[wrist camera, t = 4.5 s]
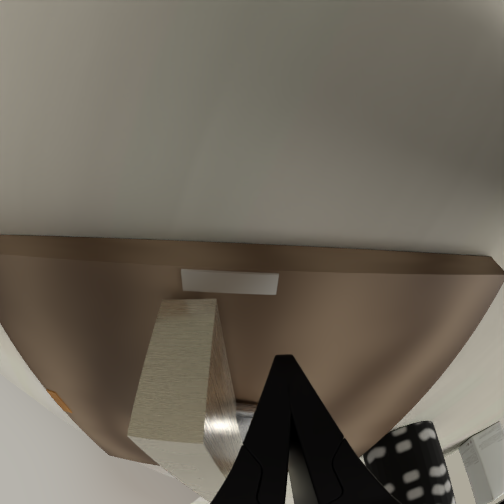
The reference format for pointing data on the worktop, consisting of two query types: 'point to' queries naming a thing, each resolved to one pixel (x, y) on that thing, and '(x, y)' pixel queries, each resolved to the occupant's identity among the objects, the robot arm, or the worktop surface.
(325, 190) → the worktop surface
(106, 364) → the dial plate
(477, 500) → the skincare box
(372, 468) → the white-spotted black cylinder
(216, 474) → the cream block with dome
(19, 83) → the worktop surface
